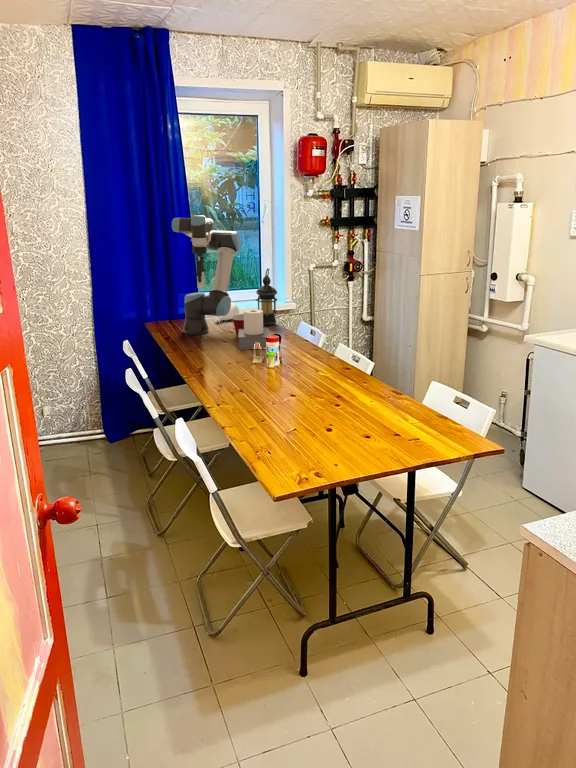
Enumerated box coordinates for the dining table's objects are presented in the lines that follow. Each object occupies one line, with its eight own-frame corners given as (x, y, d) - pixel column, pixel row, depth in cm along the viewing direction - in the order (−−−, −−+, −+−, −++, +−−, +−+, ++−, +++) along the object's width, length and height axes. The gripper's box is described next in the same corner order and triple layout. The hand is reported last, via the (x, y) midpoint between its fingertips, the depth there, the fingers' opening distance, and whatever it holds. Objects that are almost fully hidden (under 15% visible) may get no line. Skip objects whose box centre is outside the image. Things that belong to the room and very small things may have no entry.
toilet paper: (256, 336, 319) (255, 313, 315) (240, 333, 325) (240, 311, 321) (266, 332, 327) (266, 310, 324) (251, 329, 333) (251, 308, 329)
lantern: (255, 322, 382) (255, 266, 371) (276, 321, 383) (276, 266, 372) (257, 327, 369) (256, 270, 357) (278, 326, 370) (278, 269, 359)
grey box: (238, 341, 337) (238, 329, 334) (268, 340, 338) (268, 328, 335) (238, 349, 319) (238, 337, 317) (269, 349, 320) (269, 336, 318)
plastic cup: (228, 337, 344) (228, 317, 340) (237, 333, 353) (236, 313, 350) (245, 339, 340) (245, 318, 336) (253, 335, 350) (253, 315, 346)
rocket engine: (214, 309, 373) (230, 298, 386) (205, 318, 380) (221, 308, 394) (227, 323, 373) (242, 312, 387) (217, 332, 381) (232, 321, 394)
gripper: (194, 243, 326) (195, 282, 333) (190, 248, 303) (192, 290, 310) (207, 243, 327) (209, 282, 334) (205, 248, 303) (206, 290, 310)
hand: (201, 286), depth 322 cm, fingers open, 13 cm apart
